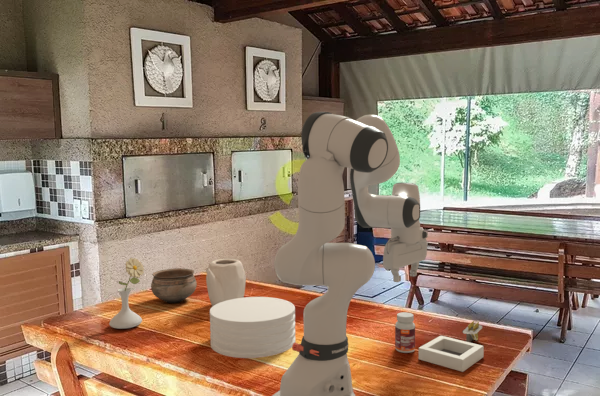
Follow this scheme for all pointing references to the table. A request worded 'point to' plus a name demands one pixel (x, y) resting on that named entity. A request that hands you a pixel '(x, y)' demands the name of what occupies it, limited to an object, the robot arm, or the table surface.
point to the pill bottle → (405, 333)
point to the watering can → (225, 280)
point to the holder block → (451, 353)
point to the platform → (472, 331)
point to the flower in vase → (127, 316)
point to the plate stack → (252, 327)
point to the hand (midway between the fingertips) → (405, 278)
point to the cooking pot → (173, 284)
